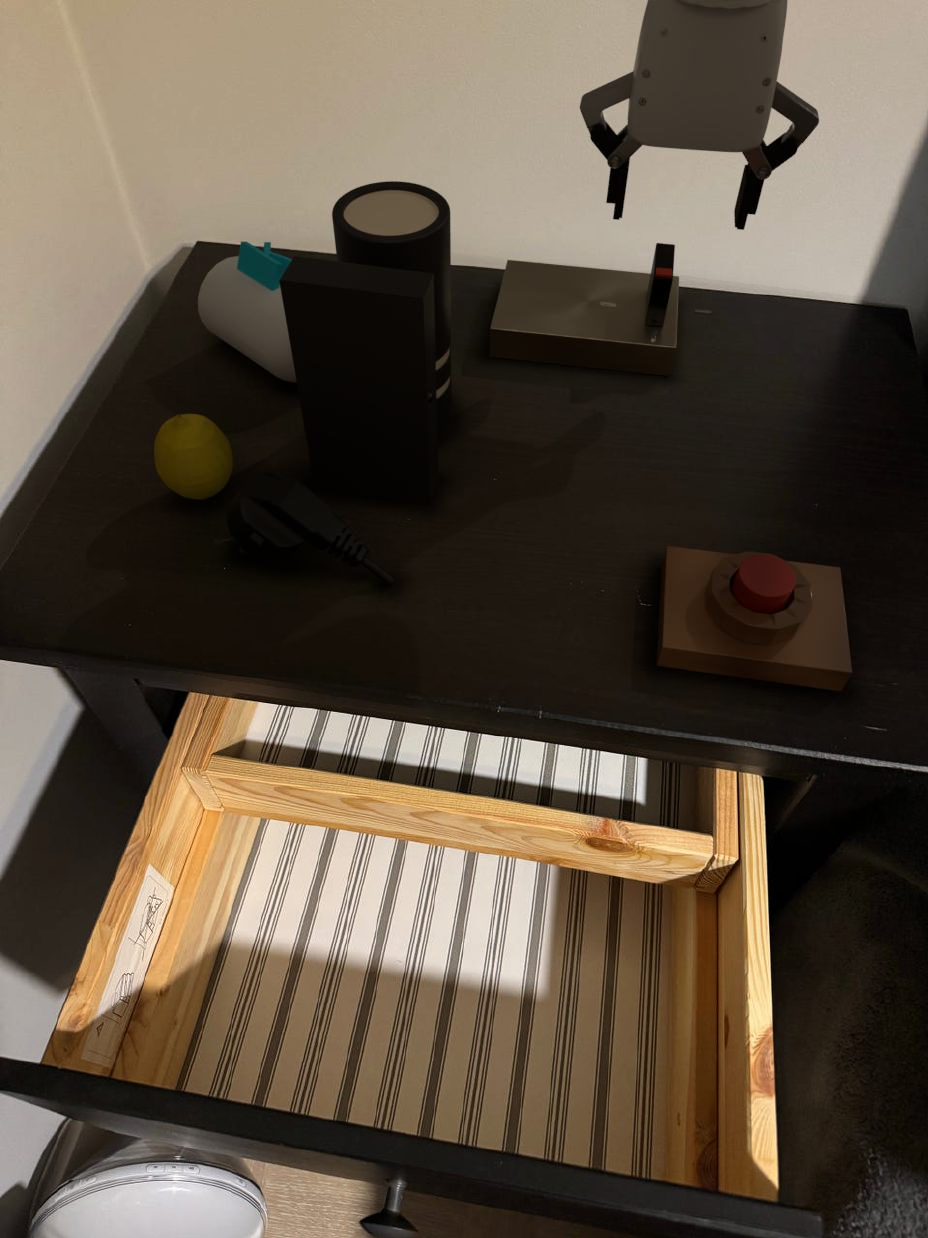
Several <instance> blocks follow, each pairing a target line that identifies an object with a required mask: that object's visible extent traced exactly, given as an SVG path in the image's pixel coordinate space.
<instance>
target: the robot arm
mask: <svg viewBox="0 0 928 1238" xmlns="http://www.w3.org/2000/svg"><path fill="white" fill-rule="evenodd" d="M787 12H788V0H647V3H646V5H645V10H644V14H643V18H642V22H641V28H640V31H639V37H638V41H637V48H636V53H635V59H634V63H633V71H631V72H628V73H626V74H624V75H622V76H620V77H617V78H616V79H614V80H611V81H609V82H607V83H605V84H603V85H601V86H599V87H598V86H597V88H594V89H593V90H590V91H588V92H586V93H584V94H582V96H581V99H580V103H579V110H580V113H581V115H582V118H583V122H584V124H585V126H586V128H587V131H588V132H589V138H590V141H591V142H592V143H593V145H594V146H595V148H597V150H598V151H599V152H600V153H601V155H602V156H603V157H604V158H605V159H606V160H607V162H606V163H607V166H608V167H609V168H610V169H609V177H608V184H607V193H606V201H605V203H606V204H614V208H613V216H612V220H617V221H619V220H620V219H623V213H624V206H625V200H626V199H625V198H626V191H627V184H628V177H629V168H630V161H631V157H632V156H633V155H634V154H635V153H637V151H638V150H639V149H640V148H641V147H642V146H646V147H652V148H661V149H663V148H664V149H676V150H689V151H705V152H718V153H741V154H742V155H743V157H744V159H745V160H746V162H747V163H746V164H744V168H743V171H742V176H741V179H740V185H739V188H738V193H737V197H736V201H735V205H734V212H733V213H734V214H733V215H734V228H736V230H741V231H743V230H745V227H746V223H747V219H748V216H749V215H753V216H754V215H756V213H757V209H758V207H759V204H760V203H759V202H760V199H761V195H762V191H763V187H764V183H765V180H767V179H768V178H770V176H771V175H772V172H773V171H775V170H776V169H777V168H779V167H780V166H781V165H782V164H784V163H786V162H787V161H788V160H790V159H792V158H793V157H795V155H796V153H797V152H798V149H799V148H800V147H801V146H802V144H804V143H805V142H806V140H807V139H808V138H809V137H810V135H811V134H812V133H813V132H814V131H815V130H816V128H817V127H818V125H819V123H820V117H819V111H818V110H817V108H815V107H814V106H813V105H811V104H810V103H808V102H807V101H805V100H804V99H803V98H801V97H800V96H799V95H797V94H796V93H794V92H793V91H791V90H790V89H788V88H787V87H786V86H784V85H783V84H781V83H780V82H779V81H778V76H779V71H780V65H781V59H782V52H783V43H784V34H785V28H786V22H787V21H786V20H787ZM627 100H628V109H627V124H626V125H625V126H624V127H623V128H622V129H621V130H619V132H618V133H617V132H615V130H614V129H613V128H612V127H611V126H610V124H609V123H608V122H607V121H606V119H605V117H604V112H603V111H604V110H607V109H609V108H610V107H613V106H615V105H618V104H620V103H622V102H624V101H627ZM772 109H773V110H775V111H776V112H777V113H779V114H780V115H781V116H783V117H785V118H786V119H787V120H789V121H790V122H791V124H790V126H789V127H788V129H787V130H786V131H785V132H784V133H782V134H780V136H779V137H777V138H776V139H775V140H773V141H772V142H770V143H769V144H768V145H767V143H766V142H765V141H766V140H764V139H765V135H766V133H767V129H768V125H769V120H770V117H771V112H772Z"/></svg>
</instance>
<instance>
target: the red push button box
mask: <svg viewBox="0 0 928 1238" xmlns="http://www.w3.org/2000/svg"><path fill="white" fill-rule="evenodd" d="M754 555H770V556H774V557H776V558H779V559H781V560H782V561H784V562H785V563H787V564H788V565H789V566H790V567H791V569H792V570H793V572H794V574H795V578H796V583H795V586H794V588H793V591H792V593H791V595H790V597H789V599H788V601H787V603H786V605H785V606H784V607H783V608H782V609H781V610H779V611H777V612H774V613H767V614H764V613H757V612H754V611H751V610H749V609H747V608H745V607H744V606H742V605H741V604H740V603H739V602H738V601H737V599H736V598H735V596H734V593H733V583H734V580H735V578H736V575H737V572H738V570H739V567H740V565H741V563H742V562H743V561H744V560H745V559H747V558H748V557H751V556H754ZM850 649H851V648H850V640H849V633H848V624H847V614H846V605H845V597H844V589H843V577H842V572H841V567H839V566H831V565H824V564H817V563H816V564H815V563H807V562H800V561H792V560H786V559H783V558H782V557H780V556H778V555H775V554H773V553H768V552H760V551H753V550H752V551H751V550H747V551H742V552H740V553H729V552H728V553H727V552H719V551H714V550H713V551H712V550H705V549H704V550H703V549H696V548H689V547H688V548H687V547H680V546H673V545H666V547H665V550H664V554H663V558H662V562H661V565H660V583H659V605H658V627H657V647H656V667H662V668H663V667H664V668H669V669H677V670H683V671H684V670H685V671H691V672H699V673H705V674H713V675H720V676H728V677H734V678H741V679H749V680H756V681H762V682H764V681H765V682H771V683H777V684H786V685H790V686H791V685H792V686H799V687H807V688H814V689H819V690H828V691H835V692H842V690H843V689H844V687H845V685H847V682H848V680H849V679H850V677H851V676H852V674H853V666H852V658H851V650H850Z"/></svg>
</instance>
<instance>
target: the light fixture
mask: <svg viewBox="0 0 928 1238" xmlns="http://www.w3.org/2000/svg"><path fill="white" fill-rule="evenodd" d="M331 219H332V228H333V235H334V244H335V255H336V260H329V259H321V258H314V257H307V256H298V255H293V257H292V258H291V259H292V260H291V262H290V264H289V265H288V267H287V269H286V270H285V272H284V274H283V275H282V277H281V279H280V280H279V282H280V288H281V294H282V300H283V306H284V312H285V317H286V323H287V329H288V335H289V341H290V346H291V352H292V358H293V364H294V370H295V375H296V381H297V382H296V387H297V393H298V398H299V404H300V409H301V415H302V416H301V417H302V423H303V427H304V433H305V438H306V444H307V450H308V451H307V452H308V456H309V462H310V468H311V474H312V479H313V485H314V488H316V489H322V490H327V491H334V492H341V493H348V494H353V495H360V496H365V497H366V496H367V497H371V498H372V497H373V498H379V499H383V500H384V499H385V500H392V501H397V502H403V503H410V504H417V505H424V506H429V507H430V506H431V503H432V500H433V498H434V494H435V491H436V488H437V485H438V482H439V449H438V438H439V437H441V436H442V435H443V434H444V433H445V432H446V431H447V429H448V428H449V427H450V424H451V422H452V416H453V414H452V413H453V411H452V409H453V408H452V406H453V405H452V402H453V401H452V397H453V396H452V266H451V265H452V263H451V261H452V260H451V258H452V257H451V256H452V255H451V254H452V251H451V249H452V248H451V243H452V241H451V240H452V238H451V207H450V203H448V201H447V199H446V198H445V196H443V195H442V194H440V193H439V192H438V191H436V190H434V189H432V188H430V187H428V186H426V185H422V184H419V183H415V182H409V181H398V180H397V181H396V180H395V181H393V180H392V181H391V180H390V181H389V180H388V181H387V180H386V181H377V182H372V183H367V184H364V185H360V186H358V187H356V188H353V189H351V190H349V191H347V192H346V193H344V194H342V196H340V197H339V198H338V199H337V201H336V202H335V203H334V205H333V208H332V210H331Z"/></svg>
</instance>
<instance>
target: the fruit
mask: <svg viewBox="0 0 928 1238" xmlns="http://www.w3.org/2000/svg"><path fill="white" fill-rule="evenodd" d="M153 445H154V446H153V447H154V450H153V452H154V453H153V457H154V458H153V459H154V464H155V469H156V472H157V473H158V476H159V477H160V479H161V480H162V481H163V482H164V484H165V485H166V487H168V488H169V489H170V490H171V491H173V492H175V493H176V494H177V495H179V496H181V497H183V498H186V499H191V500H199V501H204V500H206V499H208V498H212V497H214V496H215V495H217V494H219V493H220V492H221V491H222V490H223V489H224V488H225V487H226V485H227V484H228V482H229V481H230V478H231V475H232V473H233V468H234V459H233V457H234V456H233V450H232V447H231V444H230V442H229V439H228V438H227V437H226V435H225V433H224V432H223V431H222V430H221V429H220V428H219V427H218V426H217V424H216V423H215V422H213V421H212V420H211V419H209V418H208V417H206V416H204V415H201V414H198V413H184V414H183V413H178V414H176V415H175V416H173V417H171V418H169V419H168V420H166V421H165V422H164V423H163V424H162V425H161V426H160V428H159V430H158V432H157V434H156V436H155V440H154V444H153Z"/></svg>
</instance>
